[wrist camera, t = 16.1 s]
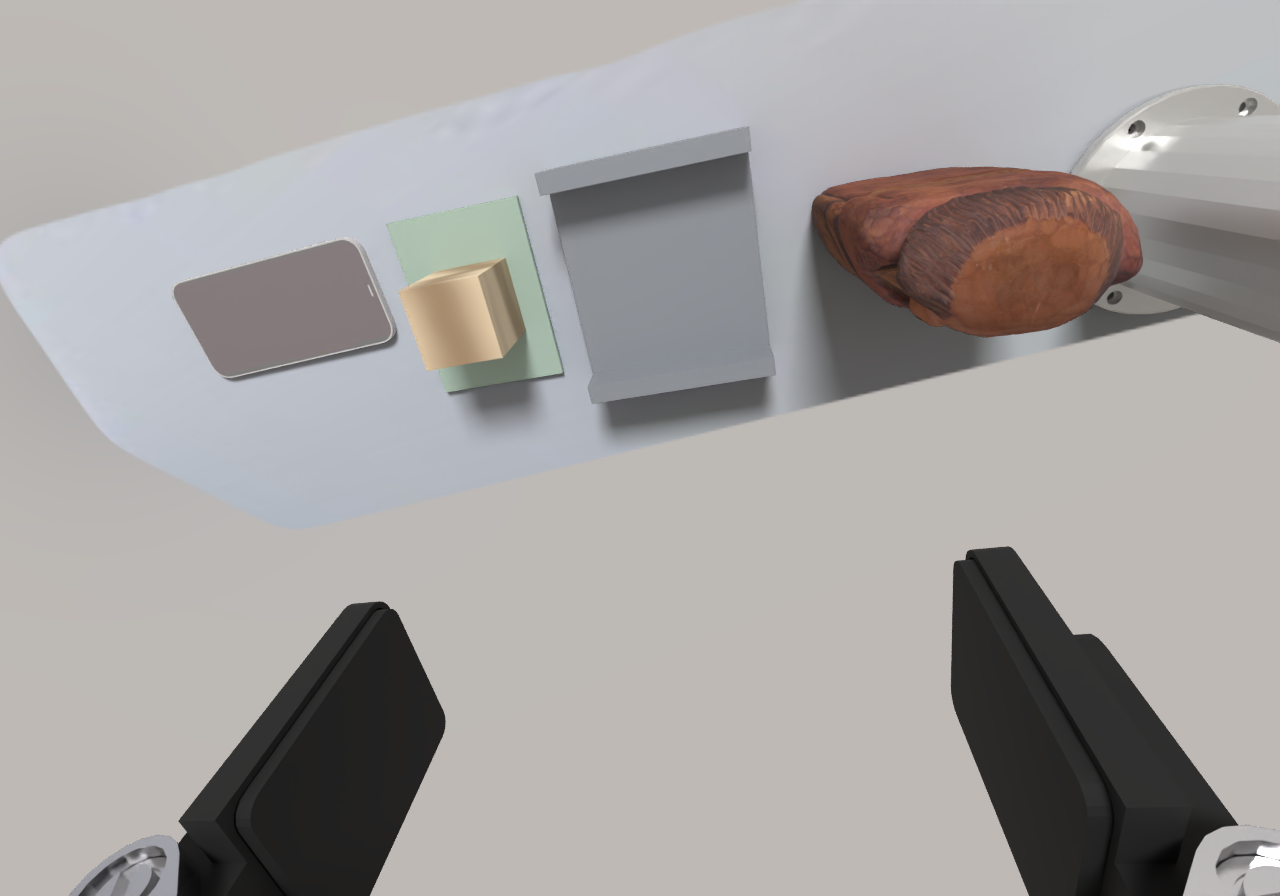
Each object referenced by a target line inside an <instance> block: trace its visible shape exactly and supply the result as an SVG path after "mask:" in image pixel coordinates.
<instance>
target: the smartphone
mask: <svg viewBox="0 0 1280 896" xmlns="http://www.w3.org/2000/svg"><path fill="white" fill-rule="evenodd" d="M172 295H173V298H174V300H175V302H176V304H177V306H178V308H179V310H180V311H181V313H182V315H183V317H184V318H185V320H186V322H187V324H188V326H189V327H190V329H191V331H192V333H193V334H194V336H195V338H196V340H197V342H198V343H199V345H200V347H201V349H202V350H203V352H204V354H205V356H206V358H207V359H208V361H209V363H210V365H211V366H212V368H213V369H214V370H215V372H216V373H218V374H219V375H221V376H223V377H226V378H233V377H238V376H242V375H247V374H251V373H255V372H259V371H264V370H268V369H272V368H277V367H281V366H285V365H290V364H294V363H298V362H303V361H307V360H311V359H316V358H320V357H324V356H329V355H333V354H337V353H342V352H346V351H350V350H355V349H359V348H363V347H368V346H372V345H376V344H380V343H384V342H386V341H388V340H390V339H391V338H392V337H393V336H394V335H395V333H396V323H395V321H394V318H393V316H392V313H391V311H390V308H389V306H388V304H387V301H386V299H385V297H384V294H383V292H382V289H381V287H380V285H379V282H378V280H377V278H376V275H375V273H374V270H373V268H372V266H371V263H370V261H369V259H368V256H367V254H366V251H365V250H364V248H363V246H362V245H361V244H360V243H359V242H358V241H357V240H355V239H353V238H350V237H343V238H339V239H335V240H331V241H327V242H325V241H324V242H320V243H317V244H316V245H313V246H312V245H311V246H307V247H303V248H300V249H296V250H294V251H293V250H292V251H288V252H285V253H281V254H278V255H275V256H272V257H268V258H264V259H261V260H257V261H253V262H250V263H246V264H242V265H238V266H235V267H231V268H227V269H224V270H220V271H216V272H212V273H209V274H205V275H201V276H198V277H194V278H190V279H186V280H183V281H180V282H177V283H176V284H175V285H174V286H173V288H172Z"/></svg>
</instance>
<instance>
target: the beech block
mask: <svg viewBox="0 0 1280 896" xmlns="http://www.w3.org/2000/svg"><path fill="white" fill-rule="evenodd" d="M398 292H399V295H400V298H401V301H402V303H403V306H404V309H405V312H406V314H407V317H408V320H409V323H410V325H411V328H412V331H413V334H414V336H415V339H416V342H417V345H418V347H419V350H420V353H421V356H422V358H423V361H424V364H425V367H426V369H427V371H429V370H435V369H441V368H447V367H452V366H458V365H464V364H470V363H476V362H481V361H487V360H493V359H499V358H503V357H504V356H505V355H506V353H507V352H508V351H509V350H510V349H511V347H512V346H513V345H514V344H515V343H516V342H517V340H518V339H519V338H520V337H521V336H522V334H523V333H524V332H525V331H526V328H525V325H524V321H523V318H522V314H521V310H520V307H519V303H518V300H517V296H516V293H515V289H514V286H513V282H512V279H511V275H510V272H509V268H508V265H507V261H506V258H501V259H496V260H490V261H485V262H480V263H475V264H470V265H465V266H460V267H455V268H450V269H445V270H440V271H435V272H433V273H432V274H430V275H428V276H426V277H424V278H422V279H421V280H419V281H417V282H415V283H413V284H411V285H409V286H408V287H406V288H404V289H402V290H400V291H398Z"/></svg>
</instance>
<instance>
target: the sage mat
mask: <svg viewBox="0 0 1280 896" xmlns="http://www.w3.org/2000/svg"><path fill="white" fill-rule="evenodd" d="M386 225H387V228H388V230H389V233H390V236H391V239H392V242H393V244H394V247H395V250H396V253H397V256H398V259H399V261H400V264H401V267H402V270H403V273H404V275H405V278H406V281H407V284H408V286H409V285H411V284H413V283H415V282H417V281H419V280H421V279H422V278H424V277H426V276H428V275H430V274H432V273H433V272H435V271H440V270H445V269H450V268H455V267H460V266H465V265H470V264H475V263H480V262H485V261H490V260H496V259H501V258H506V261H507V265H508V268H509V272H510V275H511V279H512V282H513V286H514V289H515V293H516V296H517V300H518V303H519V307H520V310H521V314H522V318H523V321H524V325H525V328H526V331H525V332H524V333H523V334H522V336H521V337H520V338H519V339H518V340H517V342H516V343H515V344H514V345H513V346H512V347H511V349H510V350H509V351H508V352H507V353H506V355H505V356H504V357H503V358H499V359H493V360H487V361H481V362H476V363H470V364H464V365H458V366H452V367H447V368H441V369H438V371H439V374H440V377H441V380H442V383H443V385H444V388H445V391H446V392H452V391H458V390H464V389H470V388H476V387H482V386H488V385H494V384H500V383H506V382H512V381H518V380H524V379H530V378H536V377H542V376H548V375H554V374H560V373H563V372H564V369H563V366H562V362H561V358H560V354H559V350H558V347H557V343H556V339H555V335H554V331H553V328H552V324H551V320H550V316H549V312H548V309H547V305H546V301H545V297H544V293H543V290H542V286H541V282H540V278H539V274H538V271H537V267H536V263H535V259H534V255H533V252H532V248H531V244H530V240H529V237H528V233H527V229H526V225H525V221H524V218H523V214H522V210H521V206H520V202H519V199H518V196H515V197H510V198H505V199H501V200H496V201H491V202H487V203H482V204H477V205H473V206H468V207H463V208H459V209H454V210H449V211H445V212H440V213H435V214H430V215H426V216H421V217H416V218H412V219H407V220H402V221H398V222H393V223H388V224H386Z"/></svg>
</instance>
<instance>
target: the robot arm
mask: <svg viewBox="0 0 1280 896" xmlns="http://www.w3.org/2000/svg"><path fill="white" fill-rule="evenodd" d="M1130 125H1131V130H1130V132H1129V133H1128V130H1129V127H1130ZM1071 174H1072V175H1076V176H1079V177H1082V178H1085V179H1088V180H1091V181H1093V182H1095V183H1097V184H1099V185H1100V186H1102V187H1104V188H1105V189H1106V190H1108V191H1109V192H1111V193H1112V194H1113V195H1114V196H1115V197H1116V198H1117V199H1118V200H1119V202H1120V203H1121V204H1122V205H1123V206H1124V207H1125V208H1126V209H1127V211H1128V212H1129V213H1130V215H1131V217H1132V219H1133V221H1134V223H1135V225H1136V227H1137V228H1138V233H1139V238H1140V243H1141V249H1142V256H1143V265H1142V267H1141V270H1140V271H1139V272H1138V273H1137V274H1136V275H1135V276H1134V277H1133V278H1131V279H1129V280H1127V281H1125V282H1123V283H1120V284H1116V285H1113V286H1110V287H1109V288H1108V289H1107V290H1106V292H1105V293H1104V294H1103V295H1102V297H1101V298H1100V299H1099V301H1098V302H1096V303H1095V304H1094V305H1097V306H1099V307H1101V308H1104V309H1106V310H1109V311H1113V312H1118V313H1123V314H1128V315H1150V314H1157V313H1163V312H1169V311H1172V310H1176V309H1179V308H1185V309H1188V310H1190V311H1193V312H1196V313H1199V314H1202V315H1204V316H1207V317H1210V318H1213V319H1215V320H1218V321H1221V322H1224V323H1227V324H1229V325H1232V326H1235V327H1238V328H1240V329H1243V330H1246V331H1249V332H1251V333H1254V334H1257V335H1260V336H1263V337H1265V338H1268V339H1271V340H1274V341H1277V342H1279V343H1280V105H1279V104H1277V103H1276V102H1274V101H1273V100H1272V99H1270V98H1269V97H1267V96H1266V95H1264V94H1263V93H1260V92H1257V91H1255V90H1252V89H1249V88H1246V87H1243V86H1234V85H1223V84H1216V85H1202V86H1194V87H1189V88H1185V89H1180V90H1175V91H1172V92H1169V93H1166V94H1164V95H1161V96H1159V97H1156V98H1154V99H1151V100H1149V101H1147V102H1145V103H1144V104H1142V105H1140V106H1138V107H1137V108H1135V109H1133V110H1131V111H1130V112H1128V113H1126V114H1125V115H1124V116H1122V117H1121V118H1120V119H1119V120H1117V121H1116V122H1115V123H1114V124H1112V125H1111V126H1110V127H1109V128H1107V129H1106V130H1105V131H1104V132H1103V133H1102V134H1101V135H1100V136H1099V137H1098V138H1097V139H1096V140H1095V141H1094V142H1093V143H1092V145H1091V146H1090V147H1089V148H1088V149H1087V150H1086V151H1085V153H1084V154H1083V156H1082V157H1081V158H1080V160H1079V161H1078V163H1077V164H1076V165H1075V167H1074V168H1073V170H1072V172H1071ZM1108 295H1109V296H1108ZM951 694H952V700H953V705H954V708H955V711H956V714H957V717H958V719H959V722H960V724H961V727H962V729H963V732H964V734H965V736H966V739H967V742H968V744H969V747H970V749H971V752H972V754H973V757H974V759H975V762H976V764H977V767H978V769H979V772H980V774H981V777H982V779H983V782H984V784H985V786H986V789H987V792H988V794H989V797H990V799H991V802H992V804H993V806H994V809H995V812H996V814H997V817H998V819H999V822H1000V824H1001V827H1002V829H1003V832H1004V834H1005V837H1006V839H1007V841H1008V844H1009V847H1010V849H1011V851H1012V854H1013V856H1014V859H1015V862H1016V864H1017V866H1018V869H1019V871H1020V874H1021V877H1022V879H1023V882H1024V884H1025V887H1026V889H1027V892H1028V894H1029V896H1280V831H1278V830H1275V829H1268V828H1263V827H1257V826H1250V825H1240V826H1239V825H1238V824H1237V823H1236V821H1235V820H1234V819H1233V817H1232V816H1231V814H1230V813H1229V812H1228V810H1227V809H1226V808H1225V807H1224V805H1223V804H1222V803H1221V801H1220V800H1219V798H1218V797H1217V796H1216V795H1215V793H1214V792H1213V790H1212V789H1211V787H1210V786H1209V785H1208V783H1207V782H1206V781H1205V779H1204V778H1203V777H1202V775H1201V774H1200V773H1199V771H1198V770H1197V769H1196V767H1195V766H1194V765H1193V763H1192V762H1191V761H1190V759H1189V758H1188V756H1187V755H1186V754H1185V752H1184V751H1183V750H1182V748H1181V747H1180V746H1179V745H1178V743H1177V742H1176V740H1175V739H1174V738H1173V736H1172V735H1171V734H1170V732H1169V731H1168V730H1167V728H1166V727H1165V725H1164V724H1163V723H1162V722H1161V720H1160V719H1159V718H1158V716H1157V715H1156V713H1155V712H1154V711H1153V709H1152V708H1151V707H1150V705H1149V704H1148V702H1147V701H1146V700H1145V699H1144V697H1143V696H1142V694H1141V693H1140V692H1139V690H1138V689H1137V688H1136V686H1135V685H1134V684H1133V682H1132V681H1131V680H1130V678H1129V677H1128V676H1127V674H1126V673H1125V672H1124V670H1123V669H1122V667H1121V666H1120V665H1119V663H1118V662H1117V661H1116V659H1115V658H1114V657H1113V656H1112V654H1111V653H1110V651H1109V650H1108V649H1107V647H1106V646H1105V645H1104V644H1103V643H1102V642H1101V641H1100V640H1099V639H1098V638H1097V637H1095V636H1094V635H1092V634H1081V635H1073V634H1072V633H1071V631H1070V630H1069V628H1068V627H1067V625H1066V624H1065V622H1064V621H1063V619H1062V618H1061V617H1060V615H1059V614H1058V612H1057V611H1056V609H1055V608H1054V607H1053V605H1052V604H1051V602H1050V601H1049V599H1048V598H1047V596H1046V595H1045V594H1044V592H1043V591H1042V589H1041V588H1040V586H1039V585H1038V584H1037V582H1036V581H1035V579H1034V578H1033V576H1032V575H1031V574H1030V572H1029V570H1028V569H1027V568H1026V566H1025V565H1024V563H1023V562H1022V560H1021V559H1020V557H1019V556H1018V555H1017V553H1016V552H1015V551H1014V550H1013V549H1012V548H1011V547H997V548H986V549H974V550H969V551H968V552H967V554H966V560H961V561H955V563H954V569H953V614H952V662H951ZM444 730H445V715H444V712H443V709H442V707H441V705H440V703H439V701H438V699H437V696H436V695H435V692H434V690H433V688H432V686H431V684H430V682H429V679H428V678H427V675H426V673H425V671H424V669H423V667H422V665H421V662H420V660H419V658H418V656H417V654H416V652H415V650H414V647H413V645H412V643H411V641H410V639H409V637H408V635H407V632H406V630H405V628H404V626H403V624H402V622H401V619H400V617H399V615H398V614H397V612H396V611H395V610H393V609H390V608H389V606H388V605H387V604H386V603H384V602H368V603H357V604H351V605H349V606H347V607H346V608H345V609H344V610H343V611H342V613H341V614H340V616H339V617H338V618H337V619H336V620H335V622H334V623H333V624H332V625H331V627H330V628H329V629H328V631H327V632H326V633H325V634H324V636H323V637H322V638H321V640H320V641H319V642H318V643H317V645H316V646H315V647H314V648H313V650H312V651H311V652H310V654H309V655H308V656H307V657H306V659H305V660H304V661H303V663H302V664H301V665H300V667H299V668H298V669H297V670H296V671H295V673H294V674H293V675H292V677H291V678H290V679H289V680H288V682H287V683H286V684H285V686H284V687H283V688H282V689H281V691H280V692H279V693H278V695H277V696H276V697H275V698H274V700H273V701H272V702H271V703H270V705H269V706H268V707H267V708H266V710H265V711H264V712H263V714H262V715H261V716H260V717H259V719H258V720H257V721H256V723H255V724H254V725H253V726H252V728H251V729H250V730H249V732H248V733H247V734H246V735H245V737H244V738H243V739H242V740H241V742H240V743H239V744H238V746H237V747H236V748H235V749H234V751H233V752H232V753H231V755H230V756H229V757H228V758H227V760H226V761H225V762H224V763H223V765H222V766H221V767H220V768H219V770H218V771H217V772H216V774H215V775H214V776H213V777H212V779H211V780H210V781H209V783H208V784H207V785H206V786H205V788H204V789H203V790H202V791H201V793H200V794H199V795H198V797H197V798H196V799H195V801H194V802H193V803H192V804H191V806H190V807H189V808H188V809H187V811H186V812H185V813H184V815H183V816H182V817H181V818H180V820H179V822H180V824H181V825H182V826H183V827H184V829H185V830H186V831H187V833H186V835H185V836H184V837H183V838H182V840H181V841H180V842H179V844H178V842H176V841H175V840H174V839H173V838H172V837H170V836H164V835H155V836H151V837H147V838H143V839H140V840H138V841H136V842H134V843H132V844H130V845H127V846H125V847H123V848H122V849H121V850H119V851H118V852H116V853H114V854H113V855H111V856H110V857H108V858H107V859H105V860H104V861H103V862H102V863H100V864H99V865H98V866H97V867H96V868H95V869H93V870H92V871H91V872H90V873H89V874H88V875H87V876H86V877H85V878H84V879H83V880H82V881H81V882H80V883H79V884H78V885H77V886H76V888H75V889H74V890H73V891H72V892H71V893H70V895H69V896H370V894H371V891H372V889H373V887H374V885H375V883H376V880H377V879H378V876H379V874H380V872H381V870H382V867H383V865H384V863H385V861H386V859H387V857H388V854H389V852H390V850H391V848H392V846H393V844H394V841H395V839H396V837H397V835H398V833H399V830H400V828H401V826H402V824H403V822H404V820H405V817H406V815H407V813H408V811H409V809H410V806H411V804H412V802H413V800H414V798H415V795H416V793H417V791H418V789H419V787H420V784H421V782H422V780H423V778H424V776H425V774H426V772H427V769H428V767H429V765H430V763H431V761H432V758H433V756H434V754H435V752H436V750H437V747H438V745H439V743H440V741H441V739H442V737H443V734H444Z"/></svg>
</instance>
